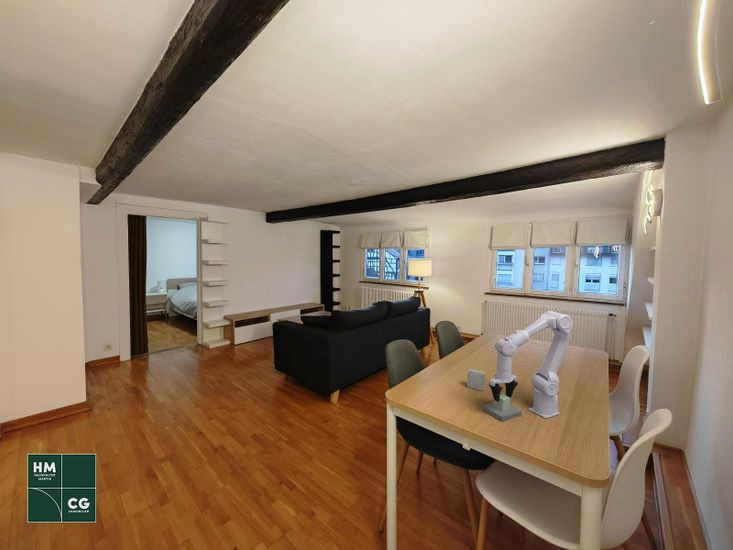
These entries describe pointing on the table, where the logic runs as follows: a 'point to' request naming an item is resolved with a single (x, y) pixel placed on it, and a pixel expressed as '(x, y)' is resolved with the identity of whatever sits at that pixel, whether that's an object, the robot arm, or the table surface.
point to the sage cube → (502, 403)
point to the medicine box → (476, 379)
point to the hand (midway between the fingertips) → (502, 398)
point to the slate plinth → (499, 414)
